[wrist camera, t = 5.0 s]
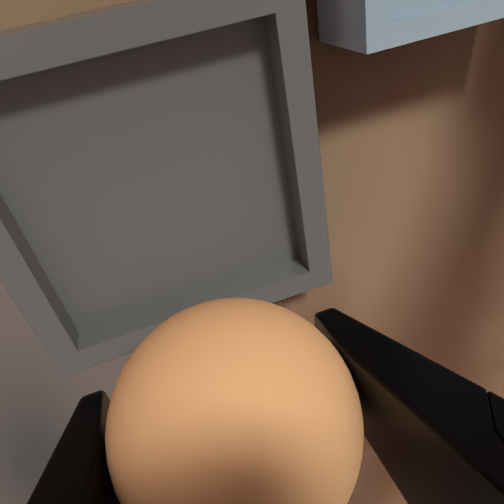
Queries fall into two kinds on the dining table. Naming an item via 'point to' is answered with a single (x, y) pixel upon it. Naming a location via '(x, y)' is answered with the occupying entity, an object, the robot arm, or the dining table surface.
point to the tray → (156, 168)
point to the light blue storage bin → (398, 21)
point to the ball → (234, 411)
